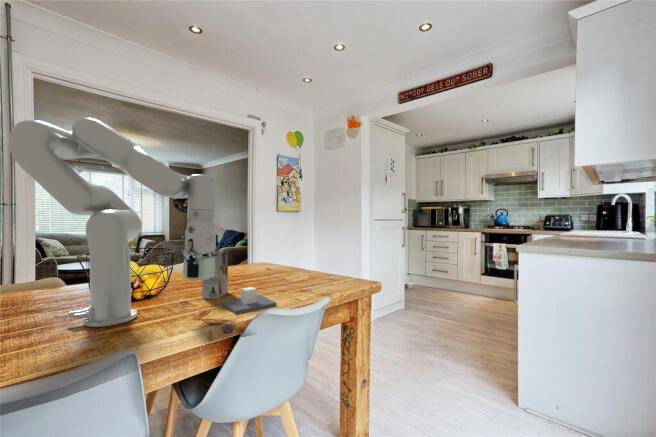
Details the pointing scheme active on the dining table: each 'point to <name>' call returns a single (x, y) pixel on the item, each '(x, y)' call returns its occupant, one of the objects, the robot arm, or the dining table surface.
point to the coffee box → (217, 278)
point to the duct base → (248, 307)
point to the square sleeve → (202, 268)
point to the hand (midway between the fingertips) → (199, 274)
